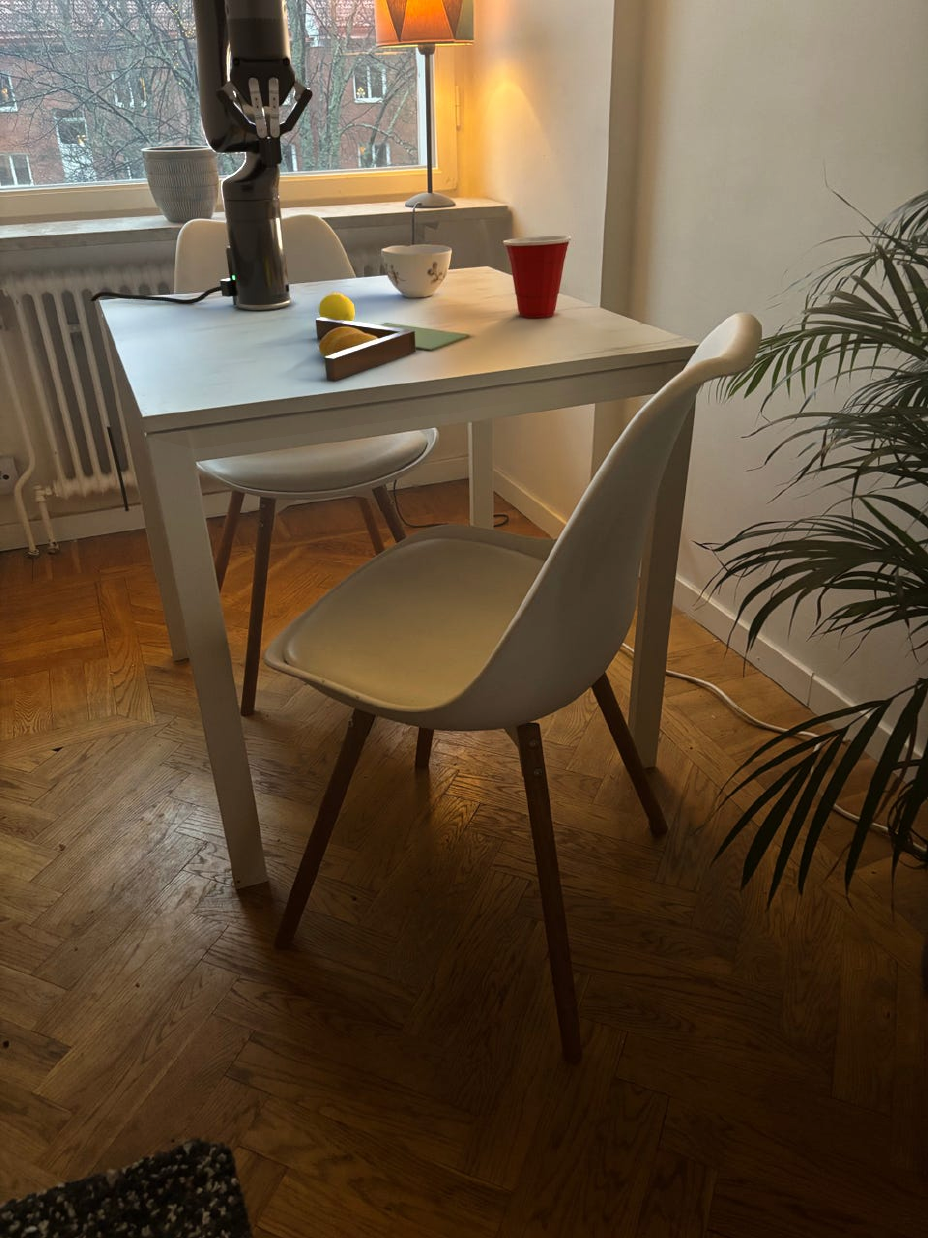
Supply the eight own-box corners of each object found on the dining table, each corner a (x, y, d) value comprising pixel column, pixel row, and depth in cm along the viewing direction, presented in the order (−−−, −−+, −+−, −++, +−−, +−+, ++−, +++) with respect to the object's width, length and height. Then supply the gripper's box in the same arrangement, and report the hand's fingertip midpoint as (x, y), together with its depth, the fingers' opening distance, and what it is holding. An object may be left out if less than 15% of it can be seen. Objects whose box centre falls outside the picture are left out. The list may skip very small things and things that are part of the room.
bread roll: (345, 369, 126) (342, 339, 124) (311, 356, 133) (308, 327, 131) (395, 358, 131) (393, 329, 129) (360, 346, 137) (358, 318, 135)
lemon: (364, 329, 146) (362, 293, 144) (335, 335, 143) (332, 298, 141) (339, 322, 151) (336, 287, 148) (311, 327, 148) (307, 292, 145)
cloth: (345, 337, 142) (345, 335, 142) (386, 324, 149) (386, 322, 149) (430, 350, 134) (430, 348, 134) (469, 336, 141) (469, 334, 141)
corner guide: (239, 363, 130) (236, 341, 128) (323, 337, 142) (322, 317, 141) (334, 381, 121) (332, 358, 120) (415, 351, 134) (414, 330, 132)
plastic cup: (542, 304, 160) (544, 229, 154) (582, 315, 152) (585, 236, 146) (489, 313, 155) (489, 235, 149) (528, 324, 147) (529, 243, 141)
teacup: (467, 294, 169) (466, 247, 165) (413, 304, 162) (410, 255, 158) (414, 283, 179) (412, 238, 175) (361, 293, 172) (358, 246, 168)
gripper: (309, 17, 122) (320, 164, 131) (204, 16, 120) (223, 166, 129) (311, 15, 115) (322, 170, 124) (201, 14, 113) (221, 172, 122)
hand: (272, 167), depth 127 cm, fingers closed
